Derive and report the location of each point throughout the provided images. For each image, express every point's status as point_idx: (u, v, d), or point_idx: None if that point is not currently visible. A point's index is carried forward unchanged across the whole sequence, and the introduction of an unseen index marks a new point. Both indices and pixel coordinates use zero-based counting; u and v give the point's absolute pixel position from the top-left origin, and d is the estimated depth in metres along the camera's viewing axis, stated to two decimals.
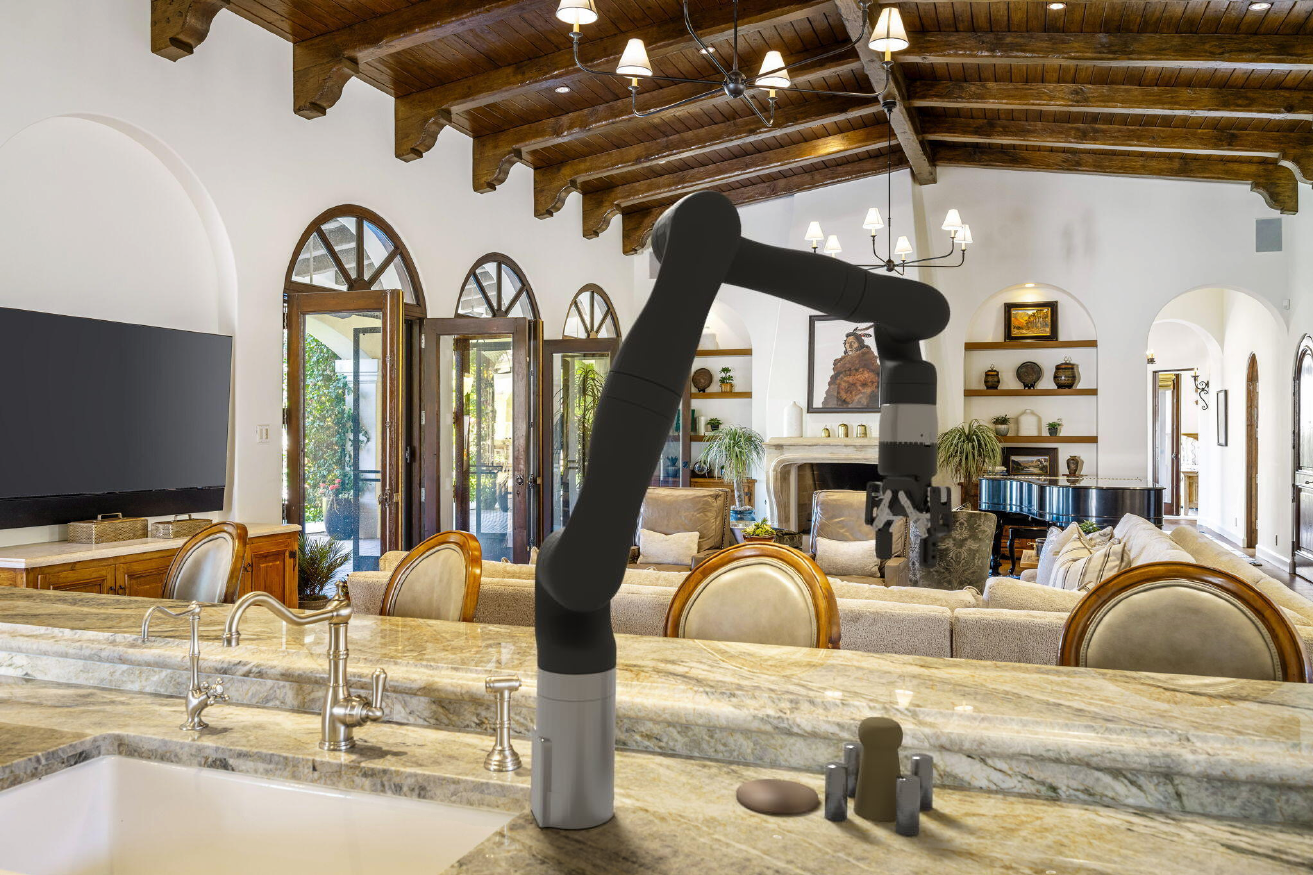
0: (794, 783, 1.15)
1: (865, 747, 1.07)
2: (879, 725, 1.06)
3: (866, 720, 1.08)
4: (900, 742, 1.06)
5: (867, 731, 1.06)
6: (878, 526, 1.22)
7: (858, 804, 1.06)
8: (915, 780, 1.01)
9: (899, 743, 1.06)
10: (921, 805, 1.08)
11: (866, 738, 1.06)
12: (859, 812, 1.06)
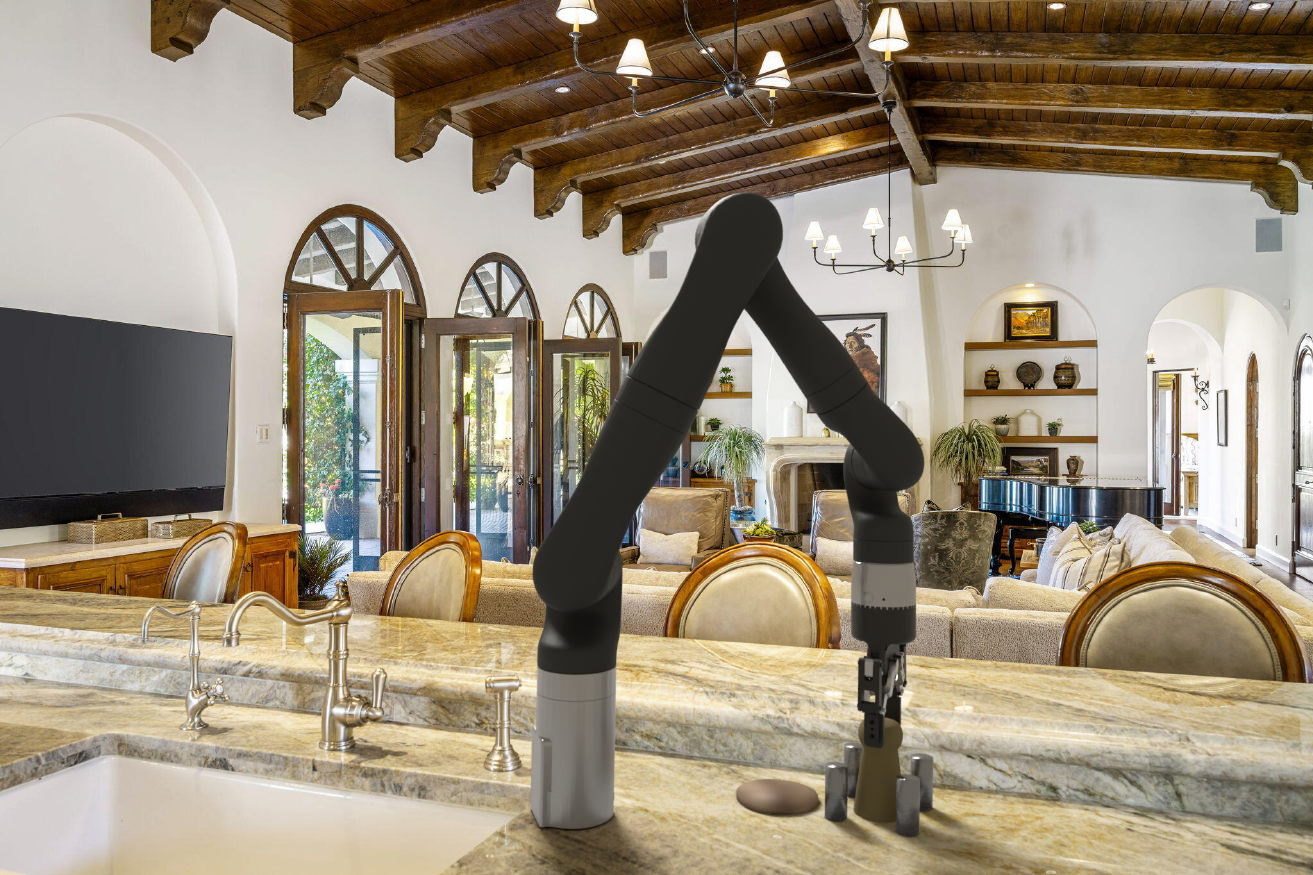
0: (794, 783, 1.15)
1: (865, 747, 1.07)
2: None
3: None
4: (900, 742, 1.06)
5: None
6: (885, 708, 1.03)
7: (858, 804, 1.06)
8: (915, 780, 1.01)
9: (899, 743, 1.06)
10: (921, 805, 1.08)
11: None
12: (859, 812, 1.06)
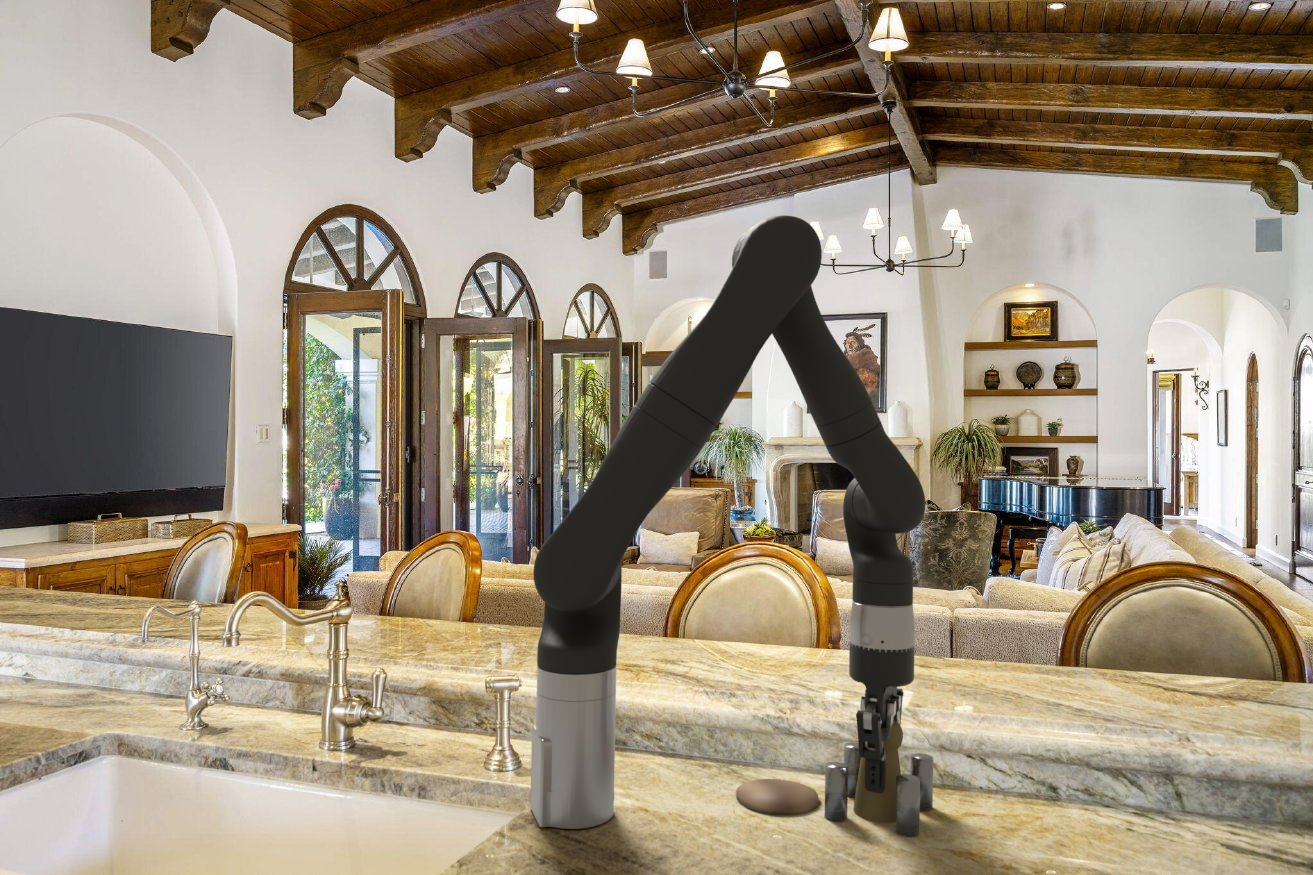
0: (794, 783, 1.15)
1: None
2: None
3: None
4: (900, 742, 1.06)
5: None
6: (886, 754, 1.05)
7: (858, 804, 1.06)
8: (915, 780, 1.01)
9: (899, 743, 1.06)
10: (921, 805, 1.08)
11: None
12: (859, 812, 1.06)
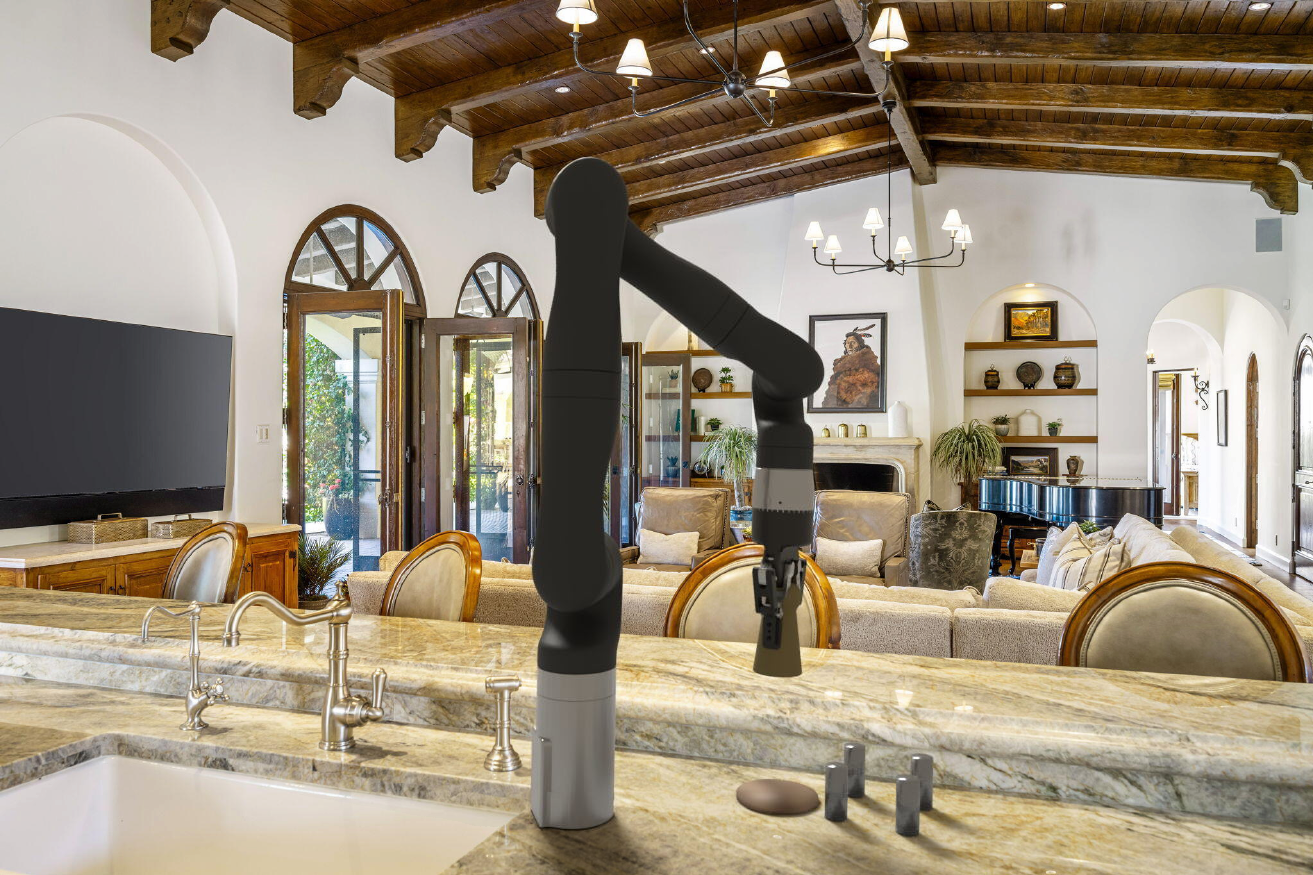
0: (794, 783, 1.15)
1: None
2: None
3: None
4: (797, 602, 1.10)
5: None
6: (782, 612, 1.09)
7: (756, 662, 1.10)
8: (915, 780, 1.01)
9: (796, 603, 1.09)
10: (921, 805, 1.08)
11: None
12: (757, 669, 1.10)
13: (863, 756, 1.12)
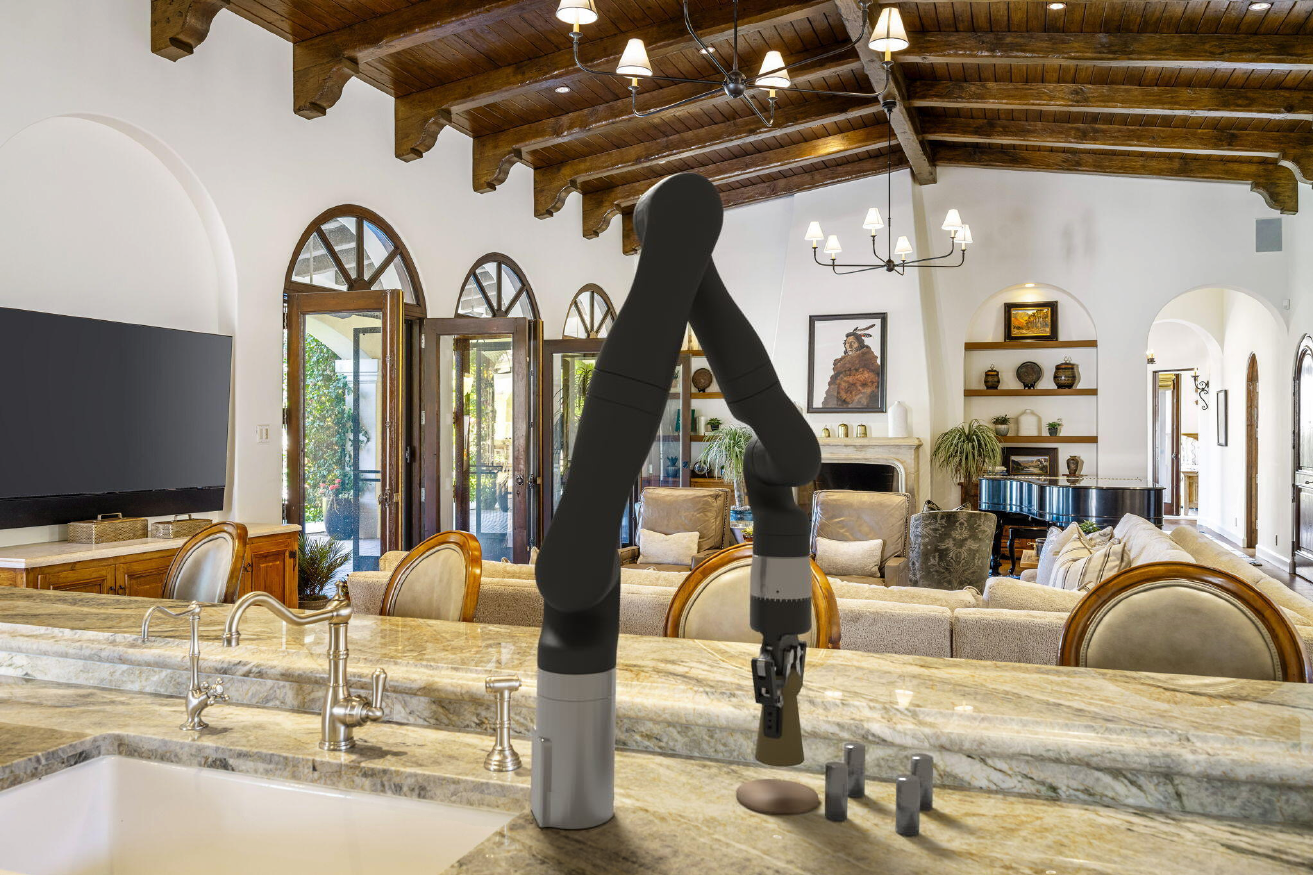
0: (794, 783, 1.15)
1: None
2: None
3: None
4: (797, 689, 1.09)
5: None
6: None
7: (758, 750, 1.10)
8: (915, 780, 1.01)
9: (796, 690, 1.09)
10: (921, 805, 1.08)
11: None
12: (758, 757, 1.10)
13: (863, 756, 1.12)
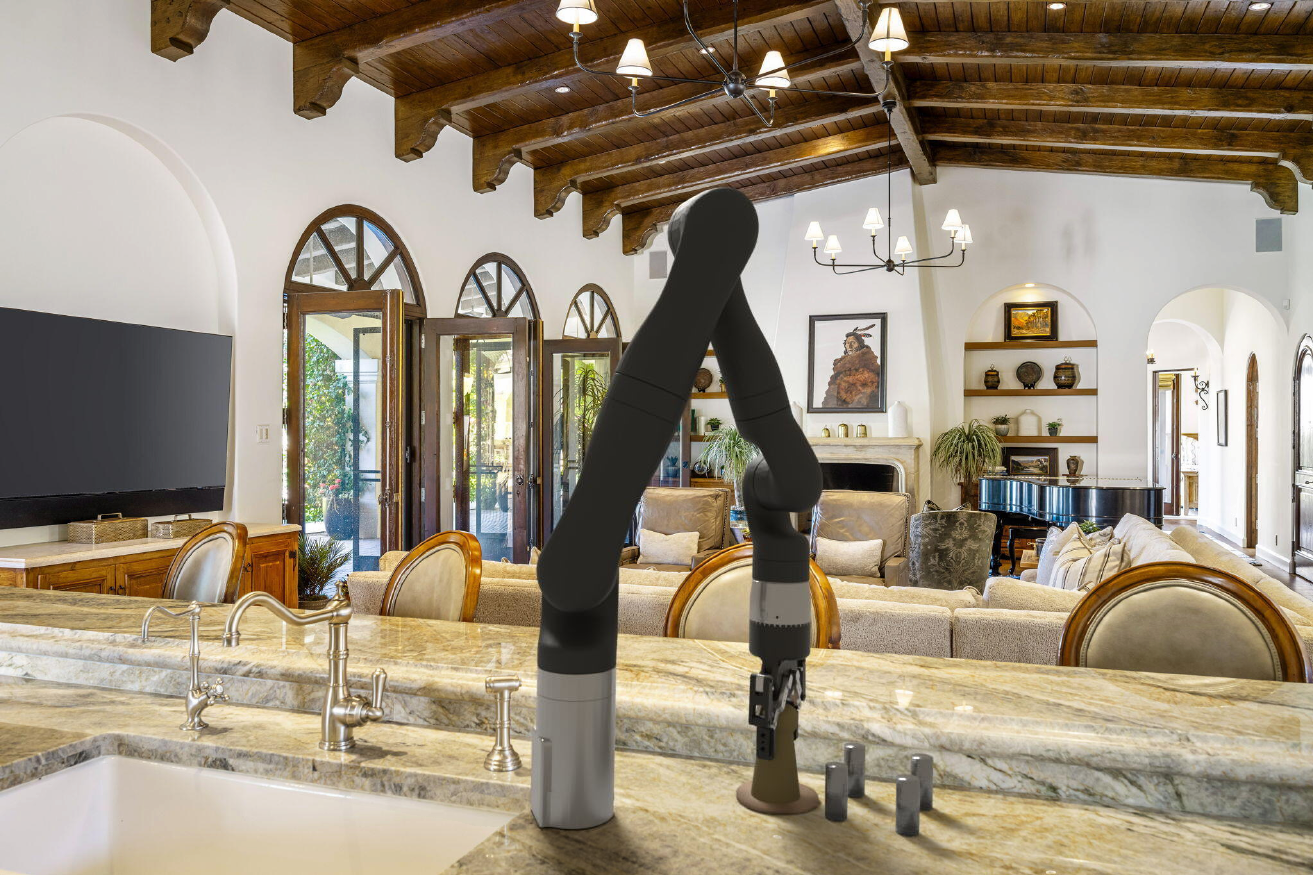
0: None
1: None
2: None
3: None
4: (794, 726, 1.09)
5: (762, 715, 1.09)
6: (776, 722, 1.07)
7: (754, 786, 1.10)
8: (915, 780, 1.01)
9: (793, 727, 1.09)
10: (921, 805, 1.08)
11: None
12: (754, 794, 1.10)
13: (863, 756, 1.12)
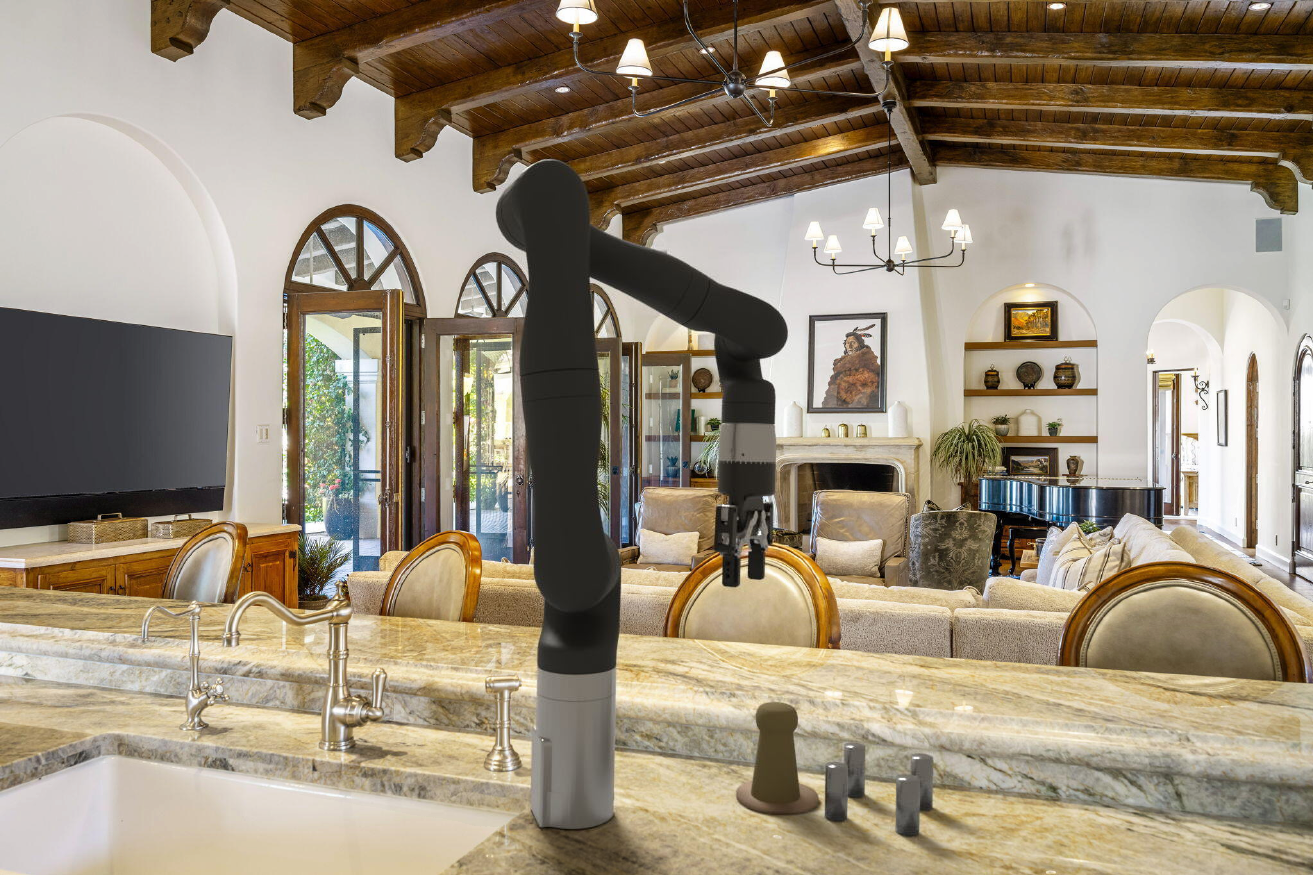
0: None
1: (761, 731, 1.10)
2: (774, 709, 1.09)
3: (763, 705, 1.11)
4: (794, 726, 1.09)
5: (762, 715, 1.09)
6: (741, 551, 1.14)
7: (754, 786, 1.10)
8: (915, 780, 1.01)
9: (793, 727, 1.09)
10: (921, 805, 1.08)
11: (761, 722, 1.09)
12: (754, 794, 1.10)
13: (863, 756, 1.12)
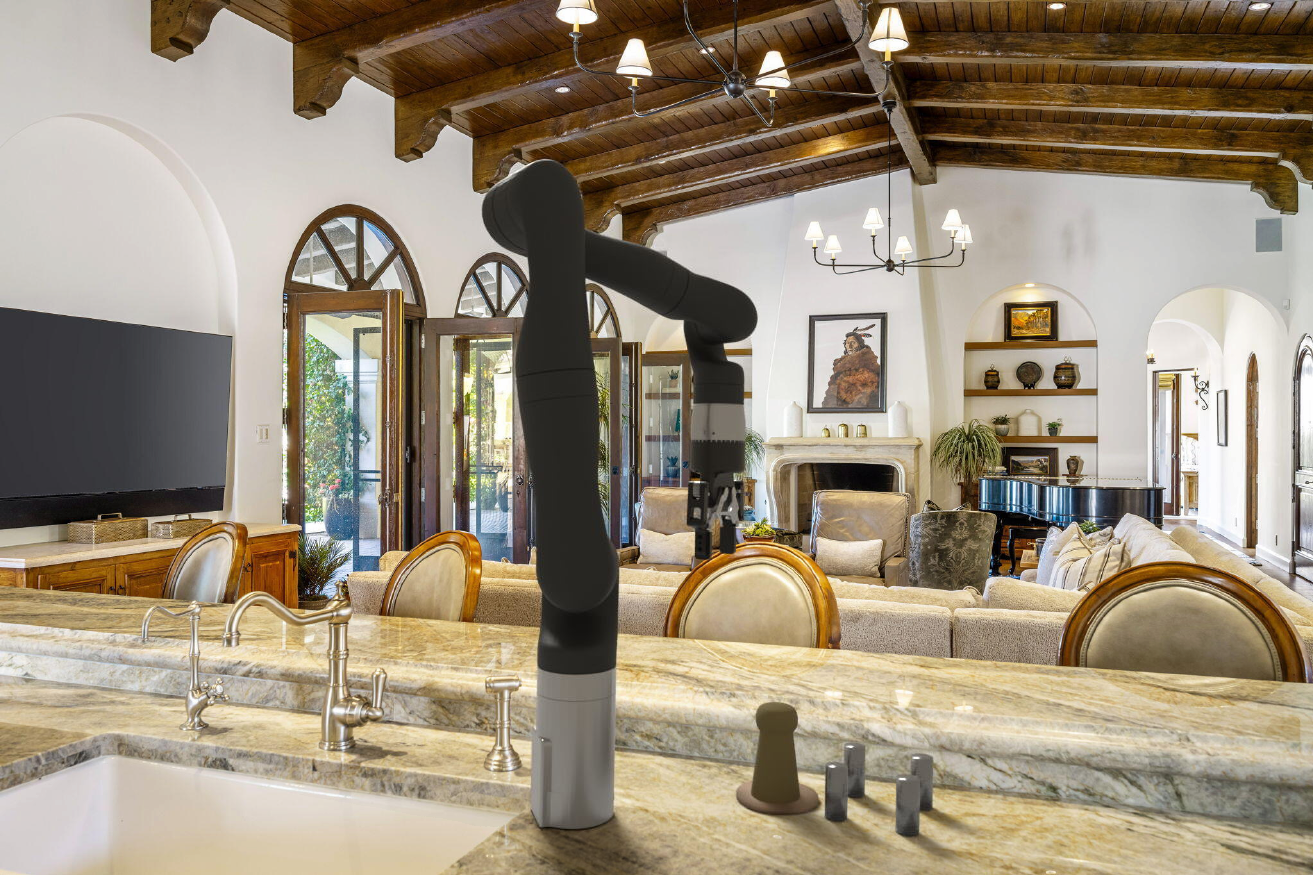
0: None
1: (761, 731, 1.10)
2: (774, 709, 1.09)
3: (763, 705, 1.11)
4: (794, 726, 1.09)
5: (762, 715, 1.09)
6: (712, 526, 1.20)
7: (754, 786, 1.10)
8: (915, 780, 1.01)
9: (793, 727, 1.09)
10: (921, 805, 1.08)
11: (761, 722, 1.09)
12: (754, 794, 1.10)
13: (863, 756, 1.12)
